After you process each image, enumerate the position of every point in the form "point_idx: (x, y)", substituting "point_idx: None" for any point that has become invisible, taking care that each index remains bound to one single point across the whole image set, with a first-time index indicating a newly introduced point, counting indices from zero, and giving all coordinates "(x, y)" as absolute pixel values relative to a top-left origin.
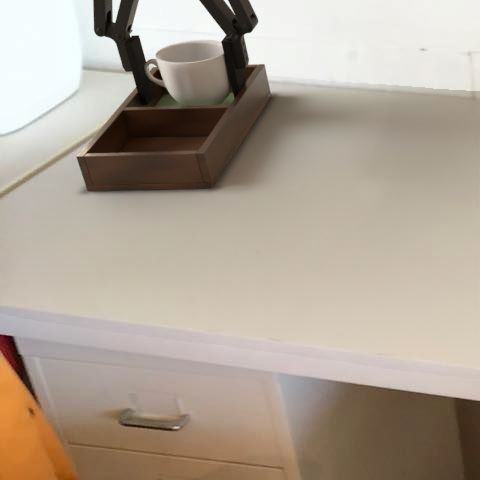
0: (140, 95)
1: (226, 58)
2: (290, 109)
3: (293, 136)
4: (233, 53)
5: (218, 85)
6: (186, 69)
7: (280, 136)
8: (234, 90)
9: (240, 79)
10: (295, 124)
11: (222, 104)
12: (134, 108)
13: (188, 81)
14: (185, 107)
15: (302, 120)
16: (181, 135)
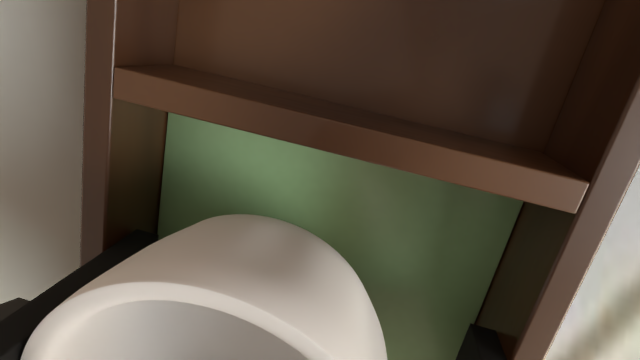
0: (497, 353)
1: (27, 327)
2: (70, 260)
3: (18, 50)
4: None
5: (151, 244)
6: (215, 263)
7: (56, 62)
8: (126, 251)
9: None
10: (33, 146)
11: None
12: (532, 185)
13: (246, 238)
14: (294, 122)
15: (21, 170)
16: (354, 107)
